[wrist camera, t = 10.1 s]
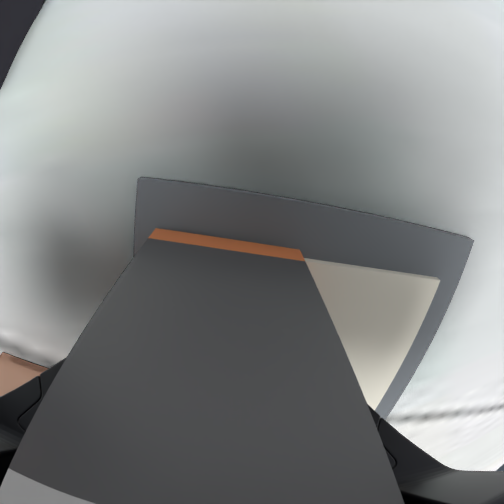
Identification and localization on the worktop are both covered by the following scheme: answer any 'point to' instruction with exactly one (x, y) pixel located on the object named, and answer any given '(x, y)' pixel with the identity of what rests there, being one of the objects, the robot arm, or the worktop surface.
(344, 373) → the grey square block
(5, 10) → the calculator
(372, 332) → the writing mat
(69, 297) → the worktop surface
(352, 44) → the worktop surface
